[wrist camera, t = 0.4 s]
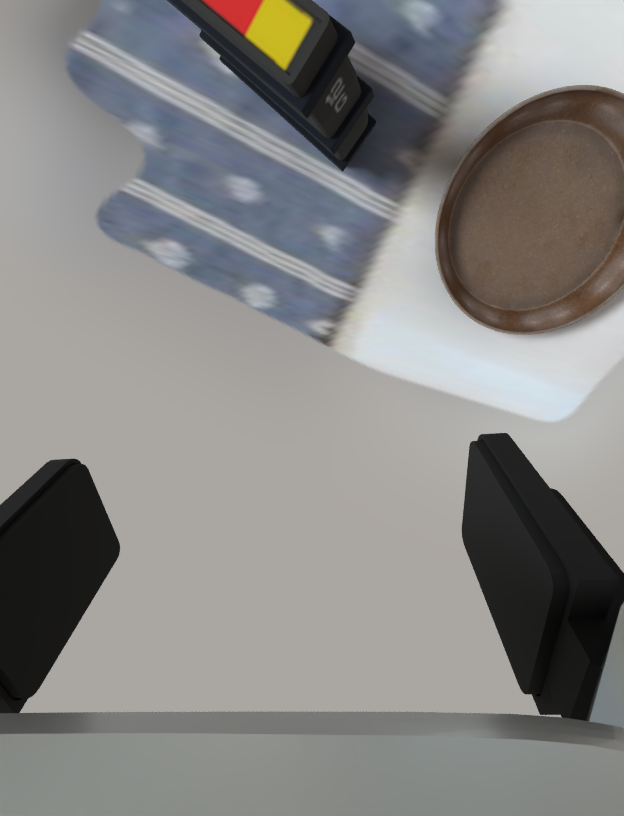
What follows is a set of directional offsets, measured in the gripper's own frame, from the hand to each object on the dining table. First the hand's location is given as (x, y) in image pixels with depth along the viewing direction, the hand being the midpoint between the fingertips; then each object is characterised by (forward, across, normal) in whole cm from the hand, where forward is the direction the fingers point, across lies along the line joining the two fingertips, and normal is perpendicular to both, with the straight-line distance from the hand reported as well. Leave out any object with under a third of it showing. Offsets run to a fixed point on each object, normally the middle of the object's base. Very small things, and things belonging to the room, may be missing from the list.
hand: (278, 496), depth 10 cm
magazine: (+31, +1, -14) cm, 34 cm away
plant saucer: (+31, -19, -3) cm, 36 cm away
